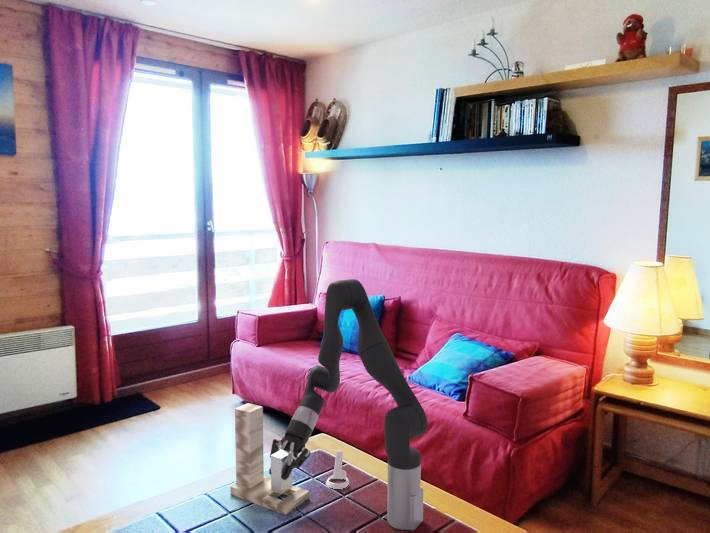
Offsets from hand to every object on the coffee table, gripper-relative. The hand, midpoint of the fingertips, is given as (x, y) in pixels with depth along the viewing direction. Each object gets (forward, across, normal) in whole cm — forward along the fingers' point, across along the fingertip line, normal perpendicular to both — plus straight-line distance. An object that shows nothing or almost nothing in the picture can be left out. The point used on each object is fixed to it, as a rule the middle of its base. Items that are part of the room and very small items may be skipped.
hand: (277, 476), depth 165 cm
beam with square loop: (+5, -5, +7) cm, 10 cm away
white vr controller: (-8, +8, +20) cm, 23 cm away
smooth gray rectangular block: (+2, 0, +5) cm, 5 cm away
